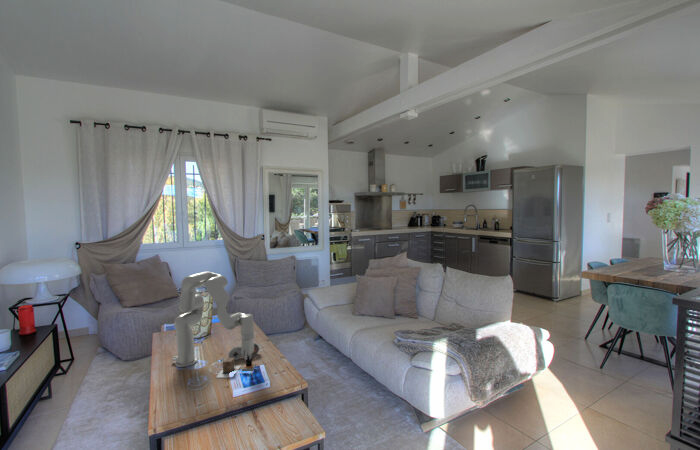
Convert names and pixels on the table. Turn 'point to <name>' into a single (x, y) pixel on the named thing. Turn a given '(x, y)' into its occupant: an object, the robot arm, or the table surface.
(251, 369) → the button housing
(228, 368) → the rubber stamp
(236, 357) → the game controller
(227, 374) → the drawing card
